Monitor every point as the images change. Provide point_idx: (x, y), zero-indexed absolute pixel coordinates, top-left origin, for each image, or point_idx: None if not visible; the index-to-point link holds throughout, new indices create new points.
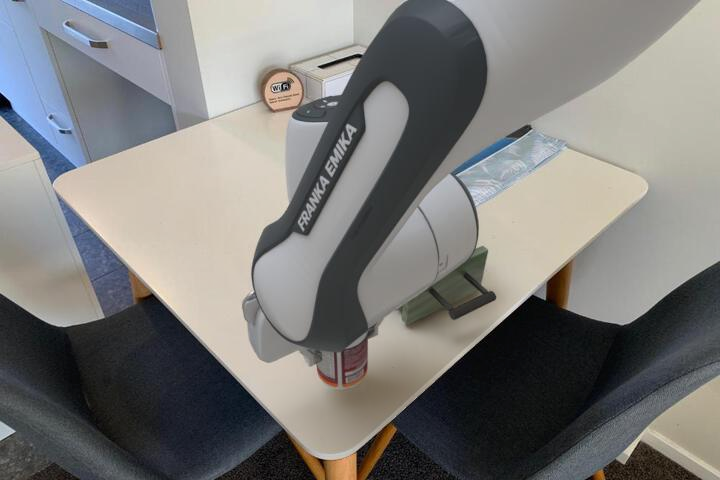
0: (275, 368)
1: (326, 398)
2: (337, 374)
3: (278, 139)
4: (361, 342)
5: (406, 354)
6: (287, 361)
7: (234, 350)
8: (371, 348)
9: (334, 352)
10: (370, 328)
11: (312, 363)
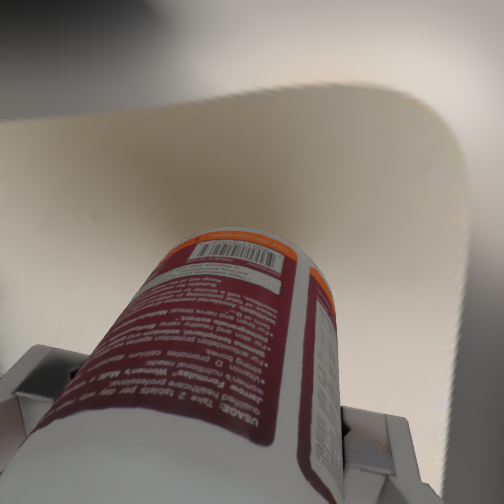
0: (364, 408)
1: (319, 261)
2: (307, 307)
3: None
4: (116, 402)
5: (37, 222)
6: None
7: None
8: (115, 298)
9: (306, 445)
10: (33, 404)
11: (398, 431)
